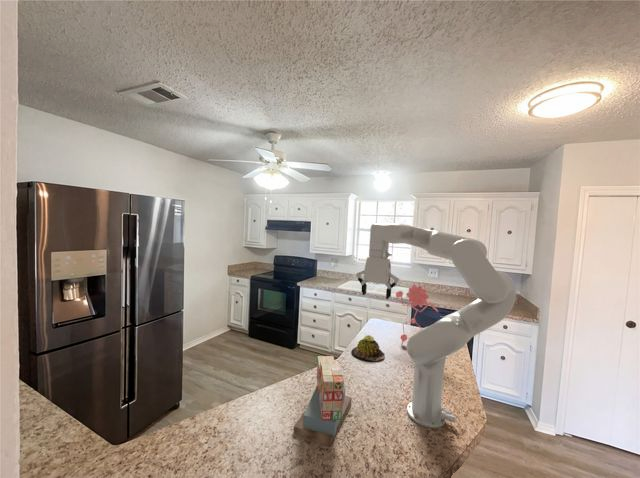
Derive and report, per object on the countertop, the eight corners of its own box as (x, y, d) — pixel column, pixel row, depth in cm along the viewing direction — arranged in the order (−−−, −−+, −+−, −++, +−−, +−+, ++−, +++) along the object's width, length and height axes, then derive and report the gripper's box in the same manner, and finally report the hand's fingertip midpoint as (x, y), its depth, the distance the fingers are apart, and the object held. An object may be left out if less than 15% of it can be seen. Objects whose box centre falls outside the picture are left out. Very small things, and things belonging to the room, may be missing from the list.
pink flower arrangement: (431, 358, 138) (436, 291, 137) (387, 341, 157) (391, 282, 155) (442, 349, 149) (447, 288, 147) (400, 334, 167) (404, 279, 166)
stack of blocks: (316, 379, 101) (317, 347, 100) (332, 379, 101) (334, 348, 101) (321, 420, 80) (323, 380, 79) (342, 420, 80) (344, 380, 80)
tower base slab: (351, 408, 98) (351, 397, 98) (329, 453, 78) (330, 440, 77) (321, 398, 102) (321, 388, 102) (293, 438, 82) (294, 426, 82)
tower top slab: (344, 395, 99) (345, 384, 98) (334, 435, 79) (335, 422, 79) (319, 389, 101) (319, 379, 101) (302, 427, 82) (303, 415, 81)
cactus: (349, 359, 133) (350, 340, 133) (353, 345, 149) (354, 328, 148) (384, 364, 129) (386, 345, 129) (384, 350, 145) (385, 332, 145)
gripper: (402, 255, 106) (399, 297, 107) (360, 251, 114) (358, 291, 115) (398, 257, 99) (395, 302, 100) (354, 253, 107) (352, 294, 108)
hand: (375, 296), depth 107 cm, fingers open, 9 cm apart
